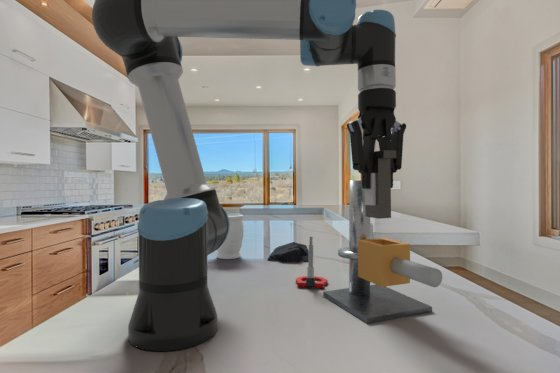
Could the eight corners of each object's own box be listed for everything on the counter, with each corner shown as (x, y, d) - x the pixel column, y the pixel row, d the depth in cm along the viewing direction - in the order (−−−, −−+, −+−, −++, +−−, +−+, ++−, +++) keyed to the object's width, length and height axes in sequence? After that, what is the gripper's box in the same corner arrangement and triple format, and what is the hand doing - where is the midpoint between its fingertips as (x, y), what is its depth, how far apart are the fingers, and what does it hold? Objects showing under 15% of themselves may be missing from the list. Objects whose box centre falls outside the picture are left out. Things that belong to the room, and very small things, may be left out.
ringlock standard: (367, 323, 65) (367, 180, 64) (319, 293, 83) (319, 180, 82) (432, 311, 71) (432, 180, 70) (374, 285, 88) (374, 180, 88)
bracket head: (419, 303, 59) (419, 256, 58) (357, 276, 75) (358, 239, 75) (450, 298, 61) (450, 253, 61) (384, 273, 78) (384, 237, 78)
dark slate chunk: (312, 250, 135) (312, 238, 135) (311, 264, 113) (311, 249, 113) (273, 250, 137) (273, 238, 137) (265, 263, 115) (265, 249, 115)
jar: (249, 256, 124) (249, 214, 123) (230, 261, 115) (230, 216, 115) (226, 252, 129) (226, 212, 129) (207, 258, 121) (207, 215, 120)
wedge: (384, 219, 67) (383, 150, 67) (360, 215, 75) (359, 153, 75) (396, 218, 68) (396, 150, 68) (372, 215, 76) (371, 153, 76)
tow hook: (297, 279, 96) (293, 288, 87) (297, 233, 96) (294, 236, 87) (327, 281, 95) (327, 289, 86) (328, 233, 95) (327, 237, 86)
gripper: (353, 82, 65) (354, 207, 65) (420, 89, 71) (421, 204, 71) (333, 92, 72) (334, 205, 72) (396, 98, 78) (397, 202, 78)
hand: (377, 204), depth 72 cm, fingers closed on wedge, 3 cm apart
